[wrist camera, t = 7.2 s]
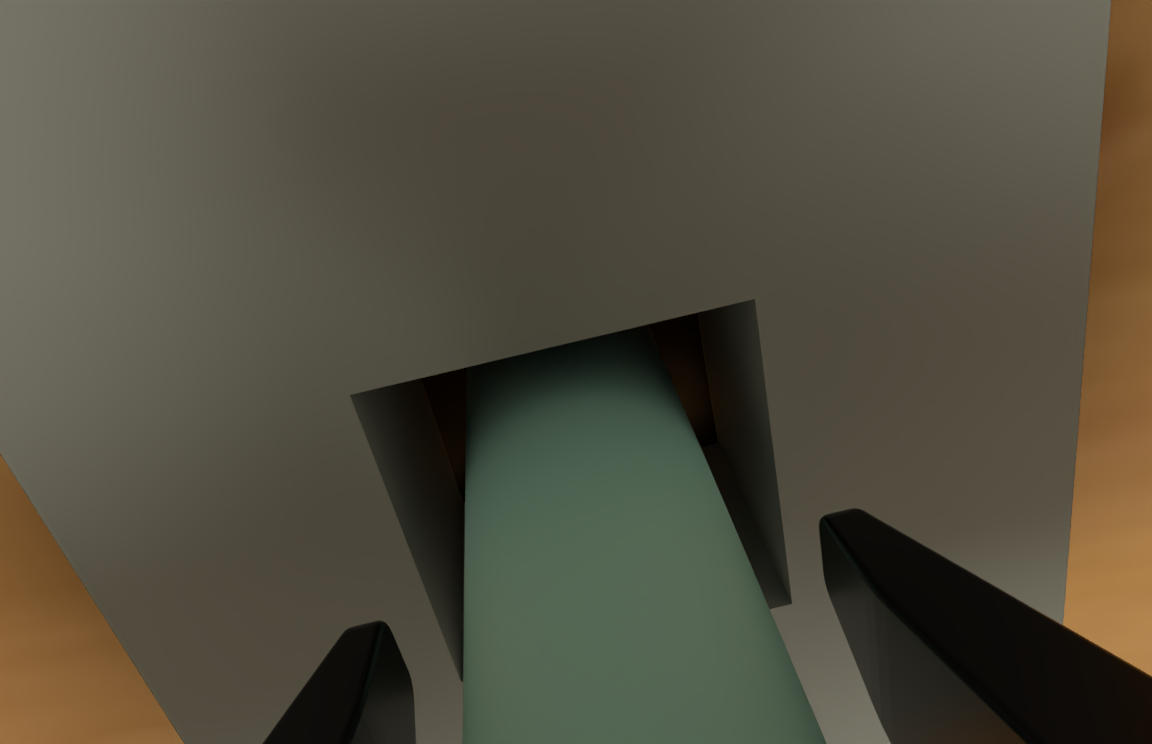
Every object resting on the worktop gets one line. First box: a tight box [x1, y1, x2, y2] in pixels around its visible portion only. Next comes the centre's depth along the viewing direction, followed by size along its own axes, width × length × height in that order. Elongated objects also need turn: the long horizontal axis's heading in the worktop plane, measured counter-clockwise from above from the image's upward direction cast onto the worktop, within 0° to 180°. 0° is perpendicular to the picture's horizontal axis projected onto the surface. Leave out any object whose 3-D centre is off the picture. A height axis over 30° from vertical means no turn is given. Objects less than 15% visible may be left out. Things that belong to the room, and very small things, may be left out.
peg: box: [463, 324, 827, 744], centre depth 10 cm, size 3×3×10 cm
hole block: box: [0, 0, 1111, 744], centre depth 12 cm, size 12×14×4 cm
